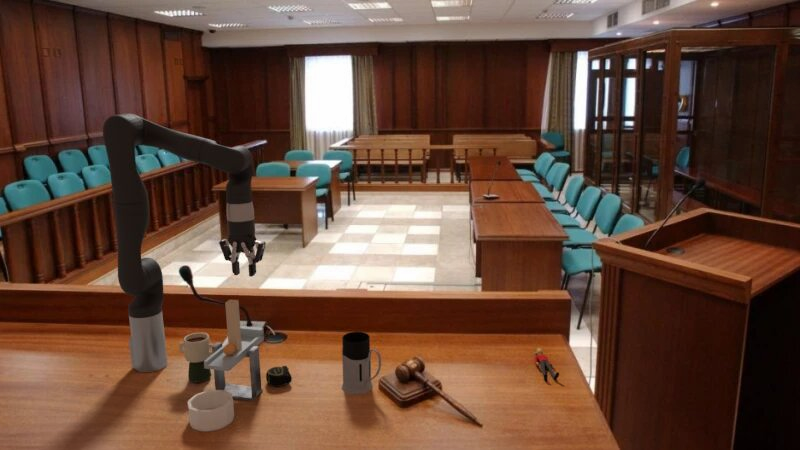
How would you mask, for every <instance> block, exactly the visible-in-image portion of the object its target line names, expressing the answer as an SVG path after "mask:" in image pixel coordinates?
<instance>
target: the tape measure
mask: <svg viewBox="0 0 800 450" xmlns="http://www.w3.org/2000/svg"><path fill="white" fill-rule="evenodd" d="M265 379H266V382H267V384H268V385H270V386H275V387H280V386H283V385H284V386H285V385H287V384H291V383H292V381H293V380H292V374H291V373H290V370H289V367H288V366H286V365H282V366H274V367H271V368H269V369H268V370H267V371H266V374H265Z"/></svg>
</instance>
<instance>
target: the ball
mask: <svg viewBox="0 0 800 450" xmlns="http://www.w3.org/2000/svg"><path fill="white" fill-rule="evenodd" d="M223 351H224V354H226V355H228V356H230V355H232V354H233V353H234V352H235V347H234V346H233V345H232V344H227V345H226V346H225V347H224V349H223Z"/></svg>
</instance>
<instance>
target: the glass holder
mask: <svg viewBox="0 0 800 450" xmlns="http://www.w3.org/2000/svg"><path fill="white" fill-rule="evenodd" d="M341 340H342V348H341V353H342V355H341V356H342V357H341V358H342V384H341V390H342V392H344V393H346V394H348V395H349V394H350V395H363V394H366V393H369V392H370V391H372V390H373V387H374V385H373V383H372V380H375V378H376V377H377V376H378V375H379V374H380V372H381V369H382V368H381V366H382V357H381V356H382V355H381V353H380V352H379V351H378V350H377V349H375V348H372V349H370V348H371V346H370V345H371V344H370V343H371V342H370V341H371V340H370V335H369V334H368V333H366V332H363V331H352V332H347V333H345V334H344V335H343V336H342V339H341ZM372 352H375V354H376V355H377V358H378V365H377V366H378V368H377V371H376V373H375V375H373V377H372V364H371V363H372V360H371V359H372Z"/></svg>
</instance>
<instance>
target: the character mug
mask: <svg viewBox="0 0 800 450" xmlns="http://www.w3.org/2000/svg"><path fill="white" fill-rule="evenodd" d="M214 344H215V343H211V340H210V335H209V334H208V333H206V332H193V333H189V334H187V335H185V336H184V338H183V341H181V342H178V348H179V353H181V354H184V358H185V360H186V362H189V364H188V376H187V377H188V380H189V381H190V382H192V383H201V382H204V381H207V380H208V379H209V378H212V377H211V376H212V372H211V369H205V368H204V361H205V360H206V359H207V358H209V357H210V356H211V355H212V346H213V345H214Z"/></svg>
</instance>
